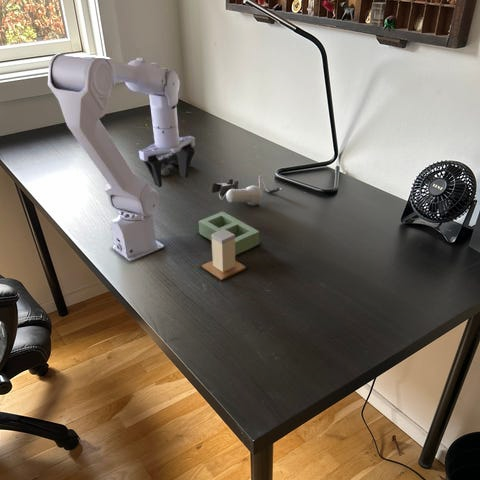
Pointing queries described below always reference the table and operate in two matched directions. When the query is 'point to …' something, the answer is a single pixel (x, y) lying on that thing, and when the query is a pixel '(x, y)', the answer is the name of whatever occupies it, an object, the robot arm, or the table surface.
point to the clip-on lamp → (240, 192)
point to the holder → (230, 230)
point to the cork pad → (226, 273)
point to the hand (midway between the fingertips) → (171, 181)
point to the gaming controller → (167, 162)
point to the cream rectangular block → (223, 250)
